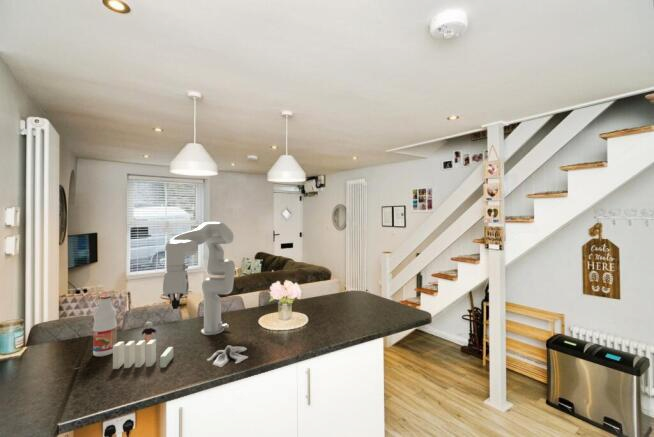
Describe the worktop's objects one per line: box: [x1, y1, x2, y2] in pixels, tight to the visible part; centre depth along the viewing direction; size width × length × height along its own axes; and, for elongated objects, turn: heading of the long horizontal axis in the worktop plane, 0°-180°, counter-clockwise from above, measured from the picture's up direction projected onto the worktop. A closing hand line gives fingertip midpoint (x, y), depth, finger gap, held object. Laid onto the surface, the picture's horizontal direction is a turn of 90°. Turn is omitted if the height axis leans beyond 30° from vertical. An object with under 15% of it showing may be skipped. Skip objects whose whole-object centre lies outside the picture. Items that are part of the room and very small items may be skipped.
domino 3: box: [134, 339, 146, 368], centre depth 136 cm, size 2×5×10 cm, turn 9°
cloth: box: [206, 345, 249, 368], centre depth 143 cm, size 22×19×6 cm
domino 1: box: [112, 340, 125, 370], centre depth 134 cm, size 2×5×10 cm, turn 9°
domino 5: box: [159, 346, 174, 368], centre depth 138 cm, size 2×5×10 cm
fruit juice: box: [92, 294, 118, 357], centre depth 148 cm, size 9×9×28 cm
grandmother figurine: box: [140, 321, 158, 344], centre depth 156 cm, size 8×4×13 cm, turn 117°
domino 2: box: [123, 340, 136, 369], centre depth 135 cm, size 2×5×10 cm, turn 9°
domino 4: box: [145, 339, 157, 368], centre depth 136 cm, size 2×5×10 cm, turn 9°
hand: (175, 308), depth 138 cm, fingers closed
